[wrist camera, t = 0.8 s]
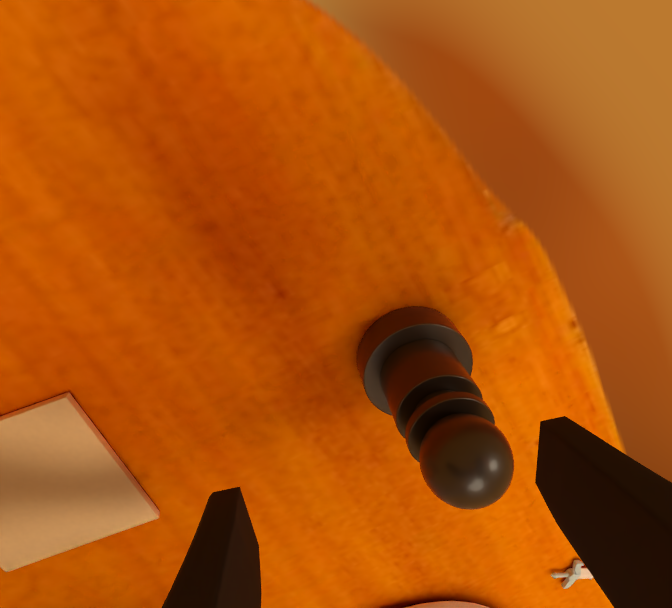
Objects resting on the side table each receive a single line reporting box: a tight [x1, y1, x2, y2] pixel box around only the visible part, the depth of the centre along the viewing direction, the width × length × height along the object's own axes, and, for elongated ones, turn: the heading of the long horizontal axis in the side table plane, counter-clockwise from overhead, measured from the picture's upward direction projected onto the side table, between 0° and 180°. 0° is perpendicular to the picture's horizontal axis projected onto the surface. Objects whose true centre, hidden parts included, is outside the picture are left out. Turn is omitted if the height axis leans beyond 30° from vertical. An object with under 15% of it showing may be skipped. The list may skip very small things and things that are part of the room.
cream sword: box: [551, 560, 594, 589], centre depth 32 cm, size 2×10×1 cm, turn 79°
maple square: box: [0, 392, 160, 572], centre depth 21 cm, size 8×8×1 cm
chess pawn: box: [357, 307, 514, 509], centre depth 18 cm, size 5×5×8 cm
